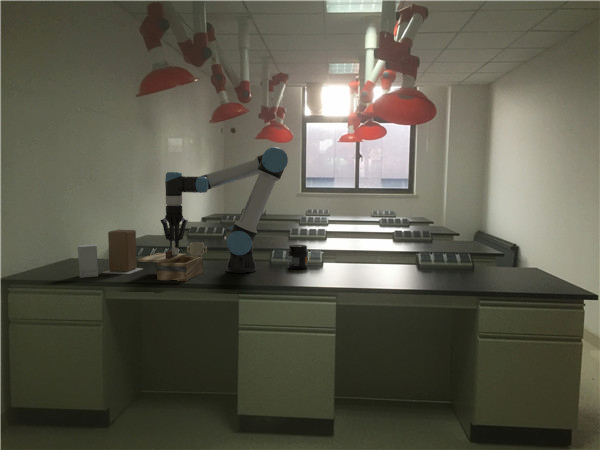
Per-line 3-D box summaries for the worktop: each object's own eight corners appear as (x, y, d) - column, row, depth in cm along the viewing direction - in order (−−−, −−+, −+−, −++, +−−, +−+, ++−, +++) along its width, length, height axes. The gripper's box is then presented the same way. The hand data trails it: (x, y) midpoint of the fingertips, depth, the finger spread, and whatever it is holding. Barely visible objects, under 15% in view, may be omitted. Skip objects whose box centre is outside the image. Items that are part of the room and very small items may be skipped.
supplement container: (309, 267, 246) (309, 244, 245) (305, 270, 236) (305, 247, 235) (290, 265, 249) (290, 244, 248) (285, 269, 239) (285, 246, 238)
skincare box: (98, 274, 220) (97, 243, 219) (98, 276, 215) (97, 245, 214) (78, 275, 217) (77, 244, 215) (78, 278, 211) (77, 246, 210)
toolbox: (202, 272, 227) (202, 256, 226) (186, 281, 207) (186, 263, 206) (175, 271, 229) (175, 255, 229) (156, 280, 209) (156, 262, 208)
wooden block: (137, 268, 234) (136, 229, 232) (127, 272, 224) (126, 231, 222) (118, 268, 235) (118, 229, 233) (108, 271, 225) (107, 231, 223)
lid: (186, 255, 228) (186, 247, 228) (167, 262, 207) (167, 254, 207) (158, 254, 230) (158, 246, 230) (137, 261, 210) (137, 252, 209)
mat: (143, 269, 235) (143, 268, 235) (129, 274, 221) (129, 273, 221) (118, 268, 237) (118, 267, 237) (102, 273, 223) (102, 272, 223)
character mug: (209, 266, 244) (209, 242, 243) (205, 269, 237) (205, 244, 236) (189, 266, 245) (188, 242, 244) (184, 268, 238) (184, 243, 237)
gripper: (190, 204, 218) (190, 253, 220) (164, 204, 220) (165, 252, 222) (183, 205, 211) (184, 256, 213) (157, 205, 213) (158, 255, 215)
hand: (174, 254), depth 218 cm, fingers closed
